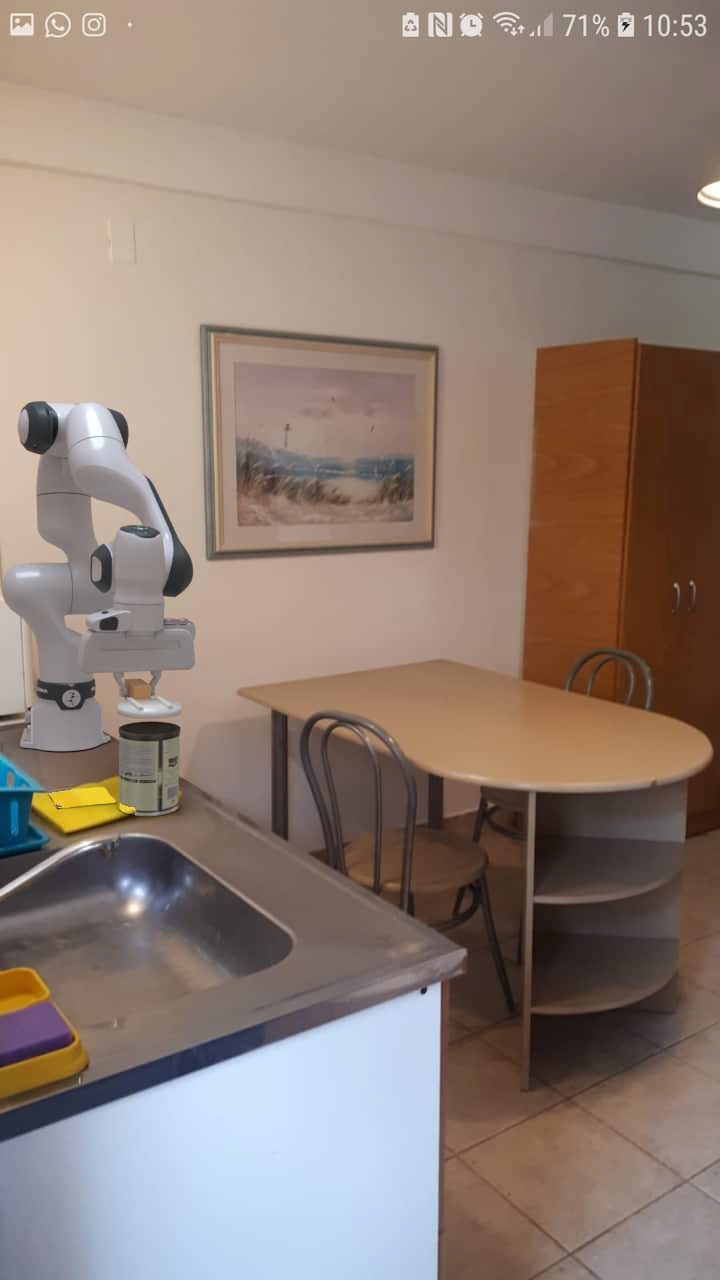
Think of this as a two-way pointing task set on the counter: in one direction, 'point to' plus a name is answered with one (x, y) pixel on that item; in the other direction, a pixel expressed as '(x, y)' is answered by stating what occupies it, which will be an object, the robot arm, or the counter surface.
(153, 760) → the coffee can
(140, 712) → the lid
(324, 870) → the counter surface
